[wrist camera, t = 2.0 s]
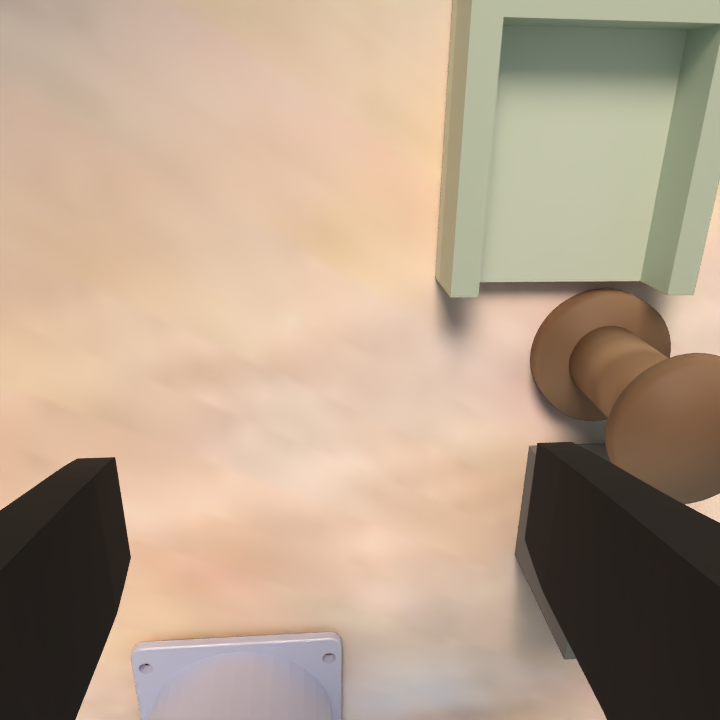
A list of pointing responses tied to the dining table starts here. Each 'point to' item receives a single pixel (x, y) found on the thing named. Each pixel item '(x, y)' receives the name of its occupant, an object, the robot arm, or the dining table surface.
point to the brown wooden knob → (634, 390)
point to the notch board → (579, 142)
